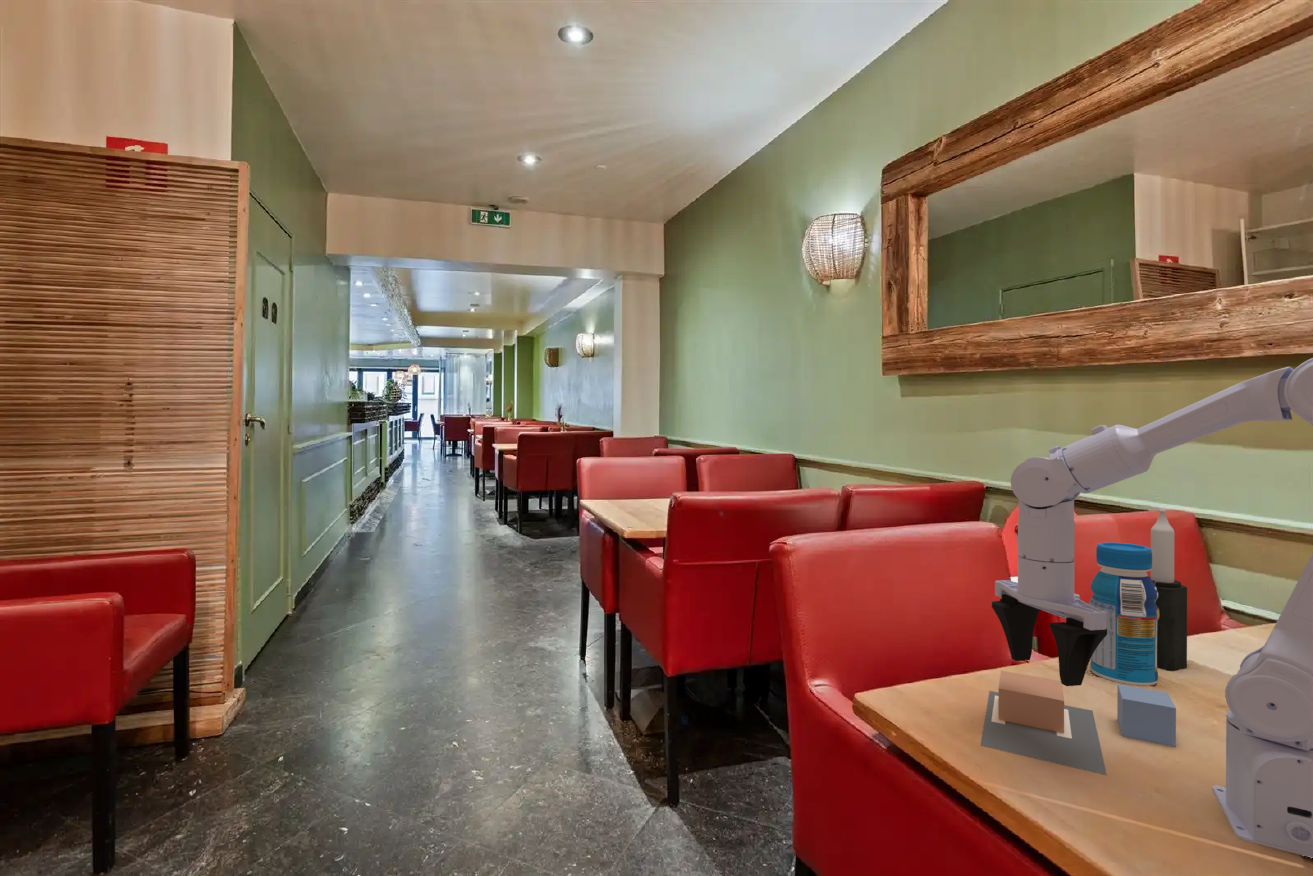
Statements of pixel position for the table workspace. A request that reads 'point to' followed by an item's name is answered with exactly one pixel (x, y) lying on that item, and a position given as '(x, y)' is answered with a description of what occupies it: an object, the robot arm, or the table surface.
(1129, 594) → the blue supplement bottle
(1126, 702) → the blue cube
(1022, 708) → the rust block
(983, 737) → the letter mat
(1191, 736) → the table surface
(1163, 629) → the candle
